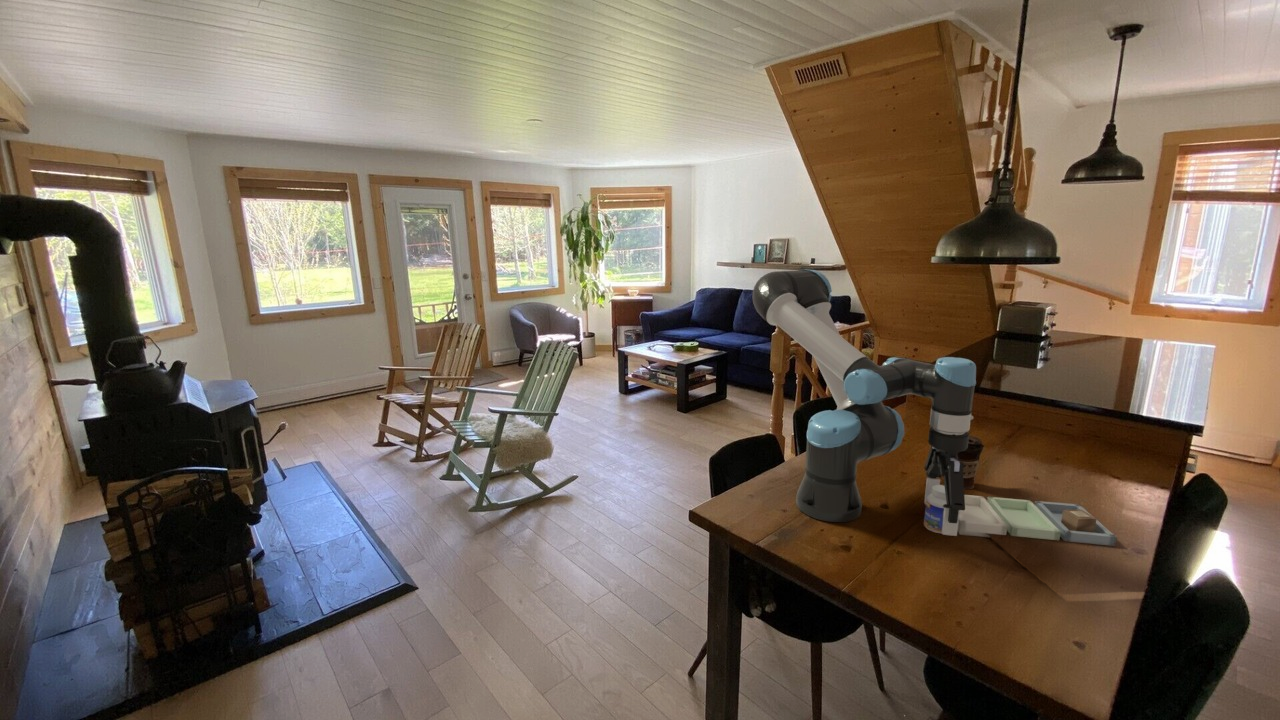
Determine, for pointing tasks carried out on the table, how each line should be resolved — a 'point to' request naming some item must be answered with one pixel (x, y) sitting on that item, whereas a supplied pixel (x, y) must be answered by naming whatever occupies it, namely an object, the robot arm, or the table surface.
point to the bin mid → (1024, 518)
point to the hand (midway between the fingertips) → (939, 518)
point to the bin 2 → (1098, 537)
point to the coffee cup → (970, 461)
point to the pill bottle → (935, 509)
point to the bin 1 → (979, 518)
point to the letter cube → (1078, 520)
